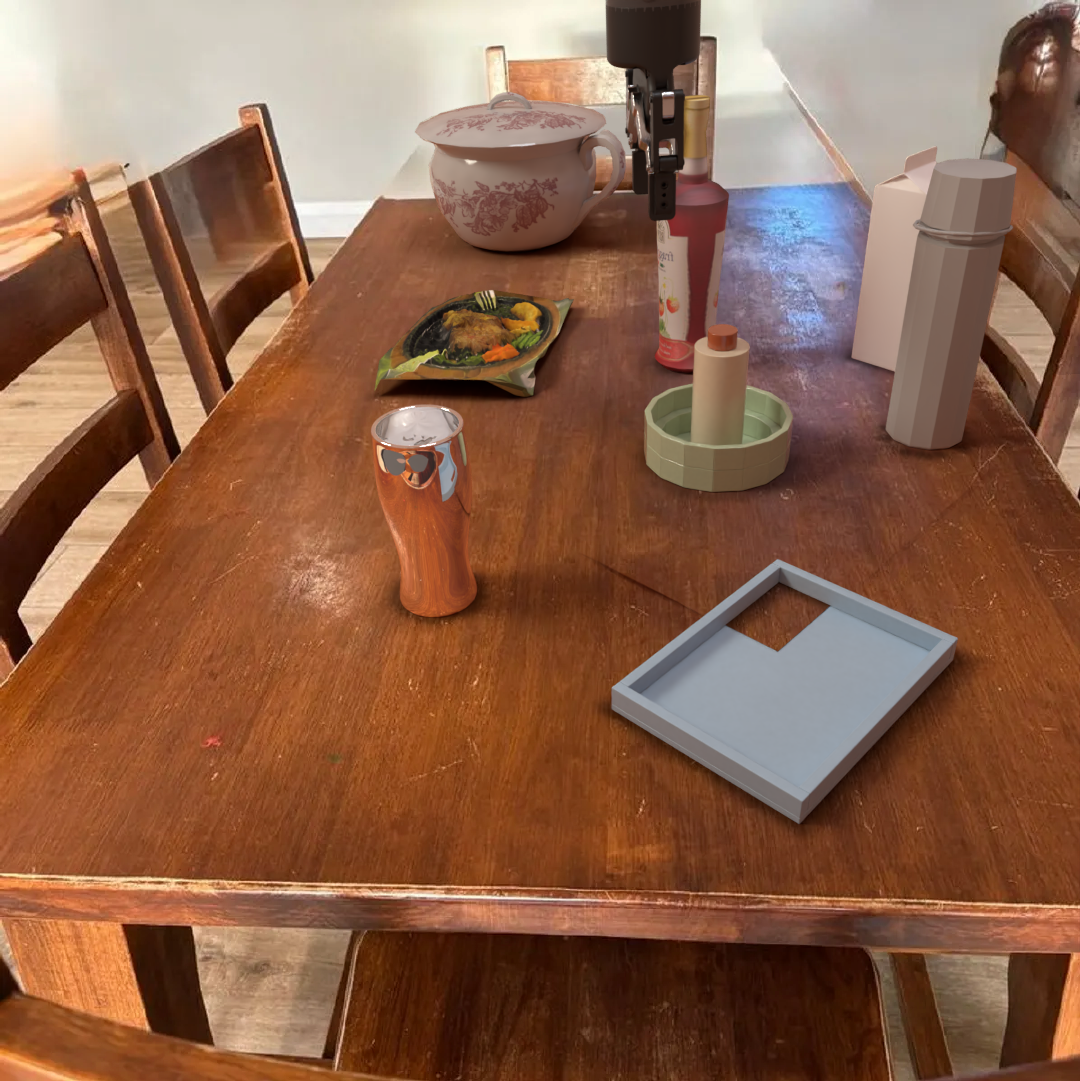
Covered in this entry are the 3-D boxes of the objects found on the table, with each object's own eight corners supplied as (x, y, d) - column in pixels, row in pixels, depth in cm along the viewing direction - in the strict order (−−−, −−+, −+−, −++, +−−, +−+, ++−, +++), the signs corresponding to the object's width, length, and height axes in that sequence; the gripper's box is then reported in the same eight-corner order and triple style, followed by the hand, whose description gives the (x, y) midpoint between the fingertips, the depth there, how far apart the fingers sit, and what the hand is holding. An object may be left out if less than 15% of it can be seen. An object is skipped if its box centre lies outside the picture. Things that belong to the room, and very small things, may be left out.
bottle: (710, 437, 98) (716, 314, 91) (751, 453, 95) (762, 327, 88) (679, 456, 95) (683, 331, 88) (721, 473, 92) (729, 345, 85)
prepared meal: (437, 275, 130) (574, 276, 127) (440, 301, 132) (575, 303, 129) (363, 374, 108) (526, 379, 105) (369, 403, 111) (529, 409, 107)
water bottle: (973, 457, 93) (1035, 180, 79) (885, 454, 95) (930, 180, 81) (955, 412, 101) (1009, 151, 87) (874, 410, 102) (914, 152, 88)
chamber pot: (405, 228, 160) (388, 88, 149) (563, 202, 168) (559, 67, 157) (462, 282, 139) (448, 122, 127) (641, 249, 147) (642, 96, 135)
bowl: (700, 415, 103) (703, 370, 100) (814, 456, 95) (820, 408, 92) (616, 465, 95) (616, 417, 92) (731, 513, 87) (735, 463, 85)
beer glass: (382, 584, 81) (354, 417, 73) (461, 559, 84) (443, 394, 75) (413, 632, 76) (387, 458, 67) (497, 603, 78) (482, 432, 70)
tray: (775, 579, 79) (777, 558, 78) (953, 660, 71) (958, 637, 70) (611, 709, 68) (611, 687, 67) (799, 824, 59) (802, 801, 58)
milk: (927, 356, 112) (967, 149, 100) (898, 374, 109) (935, 162, 96) (878, 342, 116) (911, 140, 104) (849, 358, 113) (879, 152, 100)
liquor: (728, 375, 110) (746, 101, 95) (664, 384, 109) (672, 108, 93) (705, 349, 116) (718, 87, 101) (644, 358, 115) (648, 94, 99)
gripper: (720, 2, 74) (713, 225, 83) (682, -15, 86) (679, 181, 95) (618, 10, 73) (622, 233, 82) (594, -8, 85) (599, 188, 94)
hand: (652, 205), depth 88 cm, fingers open, 8 cm apart
